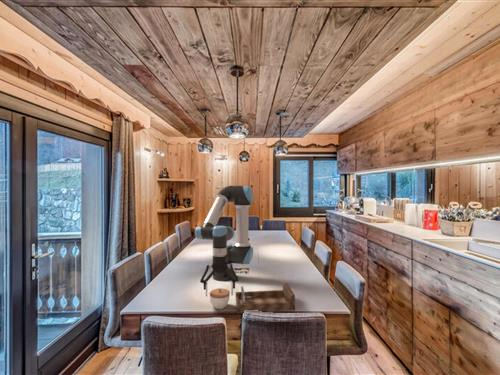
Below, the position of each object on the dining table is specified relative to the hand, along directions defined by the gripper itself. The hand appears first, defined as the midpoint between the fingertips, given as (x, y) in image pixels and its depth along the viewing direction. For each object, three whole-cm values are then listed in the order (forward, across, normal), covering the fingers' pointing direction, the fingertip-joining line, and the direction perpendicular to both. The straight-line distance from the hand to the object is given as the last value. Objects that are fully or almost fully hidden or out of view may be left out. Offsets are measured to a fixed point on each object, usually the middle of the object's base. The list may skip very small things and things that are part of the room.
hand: (219, 295), depth 138 cm
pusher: (+5, +15, 0) cm, 16 cm away
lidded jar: (+7, 0, 0) cm, 7 cm away
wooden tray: (+6, +24, 0) cm, 25 cm away
